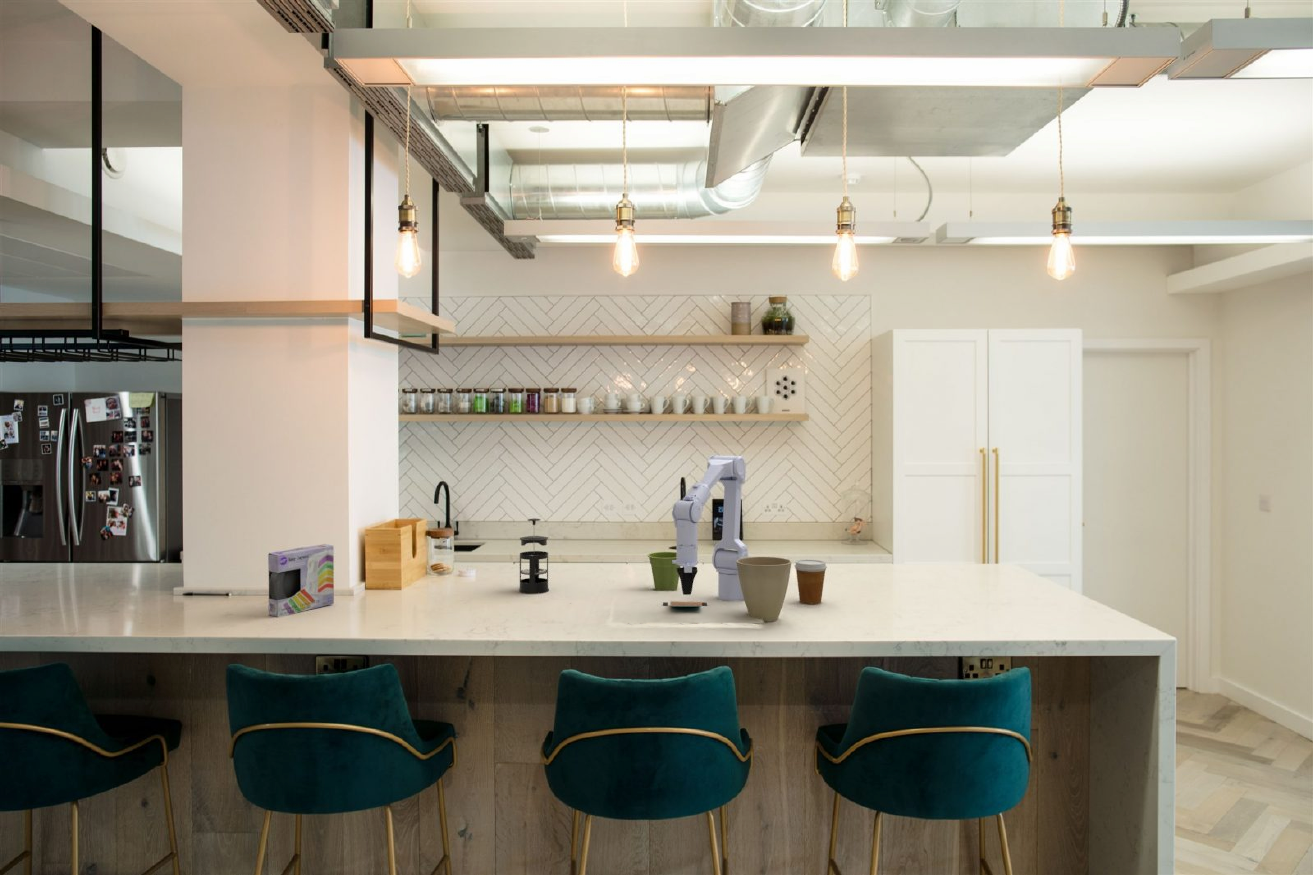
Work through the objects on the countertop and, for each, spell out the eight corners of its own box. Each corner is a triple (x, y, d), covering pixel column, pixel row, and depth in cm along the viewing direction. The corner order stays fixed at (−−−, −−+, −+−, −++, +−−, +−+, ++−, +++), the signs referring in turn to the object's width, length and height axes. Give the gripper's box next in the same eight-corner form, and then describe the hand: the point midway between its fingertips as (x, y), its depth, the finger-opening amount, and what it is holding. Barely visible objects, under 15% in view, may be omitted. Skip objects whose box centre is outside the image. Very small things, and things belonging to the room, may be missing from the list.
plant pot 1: (645, 586, 264) (645, 551, 264) (681, 585, 266) (681, 551, 265) (649, 593, 253) (649, 557, 252) (686, 593, 254) (686, 557, 254)
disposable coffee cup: (791, 603, 239) (791, 563, 238) (798, 597, 248) (798, 558, 247) (823, 606, 235) (823, 565, 235) (829, 600, 244) (829, 560, 244)
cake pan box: (274, 618, 219) (274, 553, 219) (263, 616, 221) (263, 552, 221) (335, 605, 235) (335, 544, 235) (324, 603, 238) (324, 543, 238)
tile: (700, 601, 231) (701, 602, 222) (700, 605, 231) (702, 606, 222) (670, 600, 231) (670, 602, 222) (670, 605, 231) (670, 606, 222)
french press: (547, 594, 251) (547, 520, 251) (516, 594, 251) (516, 520, 250) (550, 586, 263) (550, 516, 262) (521, 586, 262) (521, 516, 262)
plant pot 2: (780, 611, 229) (781, 555, 229) (798, 624, 214) (799, 564, 214) (729, 613, 226) (730, 556, 226) (744, 626, 212) (744, 566, 211)
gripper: (671, 540, 227) (671, 588, 227) (672, 548, 212) (672, 600, 213) (696, 540, 227) (696, 588, 227) (699, 548, 213) (699, 600, 213)
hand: (686, 594), depth 220 cm, fingers closed
